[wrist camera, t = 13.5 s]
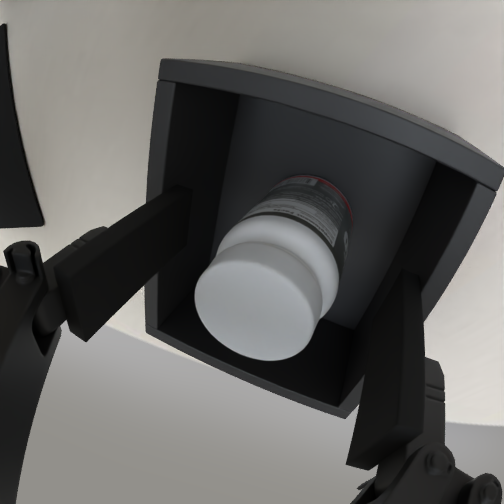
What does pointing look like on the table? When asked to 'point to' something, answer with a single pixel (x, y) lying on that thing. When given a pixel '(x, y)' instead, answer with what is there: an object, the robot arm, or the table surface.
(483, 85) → the table surface
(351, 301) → the basket
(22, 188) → the table lamp
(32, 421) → the robot arm
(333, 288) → the pill bottle
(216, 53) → the table surface
